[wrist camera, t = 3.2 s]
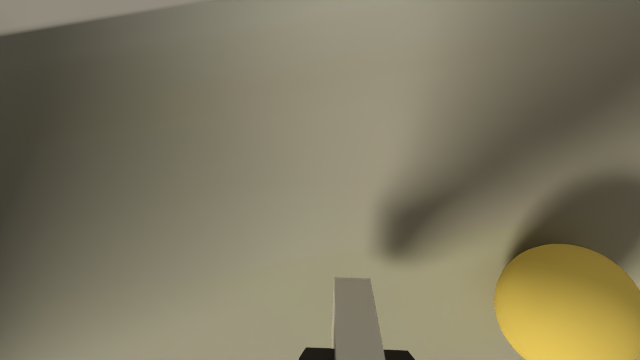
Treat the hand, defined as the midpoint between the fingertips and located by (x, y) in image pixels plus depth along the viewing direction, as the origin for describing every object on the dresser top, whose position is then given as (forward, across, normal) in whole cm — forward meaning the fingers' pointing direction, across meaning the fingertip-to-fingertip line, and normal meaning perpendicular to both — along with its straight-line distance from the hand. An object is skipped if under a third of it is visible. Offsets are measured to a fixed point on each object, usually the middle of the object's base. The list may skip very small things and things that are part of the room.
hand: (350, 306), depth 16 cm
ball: (0, +9, 0) cm, 9 cm away
